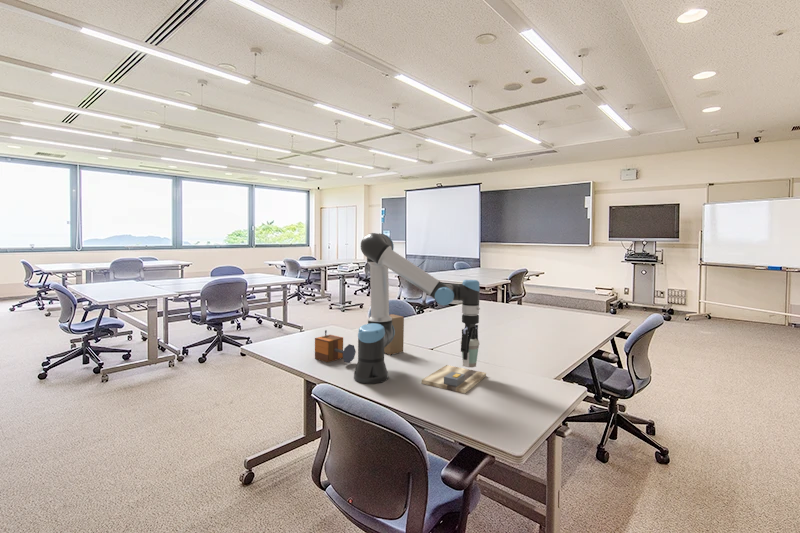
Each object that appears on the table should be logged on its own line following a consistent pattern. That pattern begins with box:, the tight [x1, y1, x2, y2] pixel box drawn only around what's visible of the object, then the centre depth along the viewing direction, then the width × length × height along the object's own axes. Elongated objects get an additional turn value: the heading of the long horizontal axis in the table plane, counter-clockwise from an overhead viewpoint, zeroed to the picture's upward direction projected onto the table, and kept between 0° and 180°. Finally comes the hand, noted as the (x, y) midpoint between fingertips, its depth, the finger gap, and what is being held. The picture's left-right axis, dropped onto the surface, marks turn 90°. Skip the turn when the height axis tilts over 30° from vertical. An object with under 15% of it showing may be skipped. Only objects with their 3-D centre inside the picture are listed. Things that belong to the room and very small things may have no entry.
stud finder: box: [444, 372, 465, 387], centre depth 165 cm, size 6×8×3 cm
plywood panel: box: [421, 364, 487, 394], centre depth 173 cm, size 20×25×2 cm
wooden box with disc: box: [314, 329, 357, 364], centre depth 199 cm, size 11×20×14 cm, turn 52°
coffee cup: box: [460, 338, 480, 368], centre depth 175 cm, size 8×9×12 cm
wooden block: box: [384, 313, 405, 356], centre depth 215 cm, size 10×10×20 cm
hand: (469, 364), depth 176 cm, fingers closed on coffee cup, 8 cm apart
